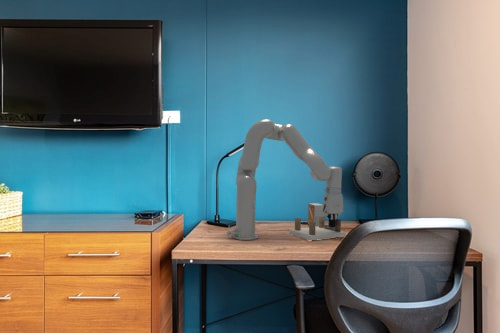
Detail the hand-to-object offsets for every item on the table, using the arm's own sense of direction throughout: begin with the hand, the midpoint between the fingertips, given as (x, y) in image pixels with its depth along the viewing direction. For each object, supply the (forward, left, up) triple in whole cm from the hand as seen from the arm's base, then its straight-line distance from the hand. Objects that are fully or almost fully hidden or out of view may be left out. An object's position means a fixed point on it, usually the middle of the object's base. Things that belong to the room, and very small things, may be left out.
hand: (331, 226), depth 174 cm
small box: (+12, +27, -6) cm, 30 cm away
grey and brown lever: (+4, +4, -2) cm, 6 cm away
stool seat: (-4, +6, -5) cm, 9 cm away
